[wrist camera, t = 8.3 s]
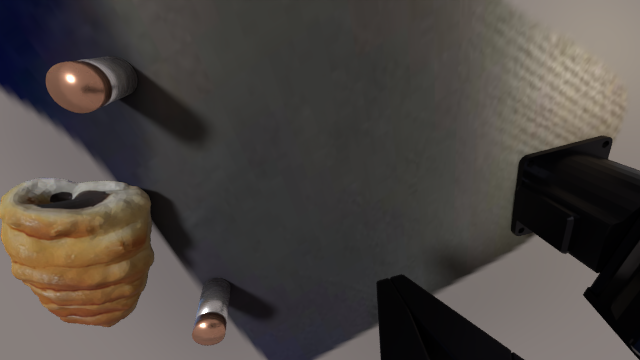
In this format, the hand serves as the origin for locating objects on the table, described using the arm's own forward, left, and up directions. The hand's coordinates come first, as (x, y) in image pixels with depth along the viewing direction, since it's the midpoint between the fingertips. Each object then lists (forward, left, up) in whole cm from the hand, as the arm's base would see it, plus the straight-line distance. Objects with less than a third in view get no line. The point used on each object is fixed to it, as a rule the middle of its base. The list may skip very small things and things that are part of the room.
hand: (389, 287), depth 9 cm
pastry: (+14, +1, -10) cm, 17 cm away
